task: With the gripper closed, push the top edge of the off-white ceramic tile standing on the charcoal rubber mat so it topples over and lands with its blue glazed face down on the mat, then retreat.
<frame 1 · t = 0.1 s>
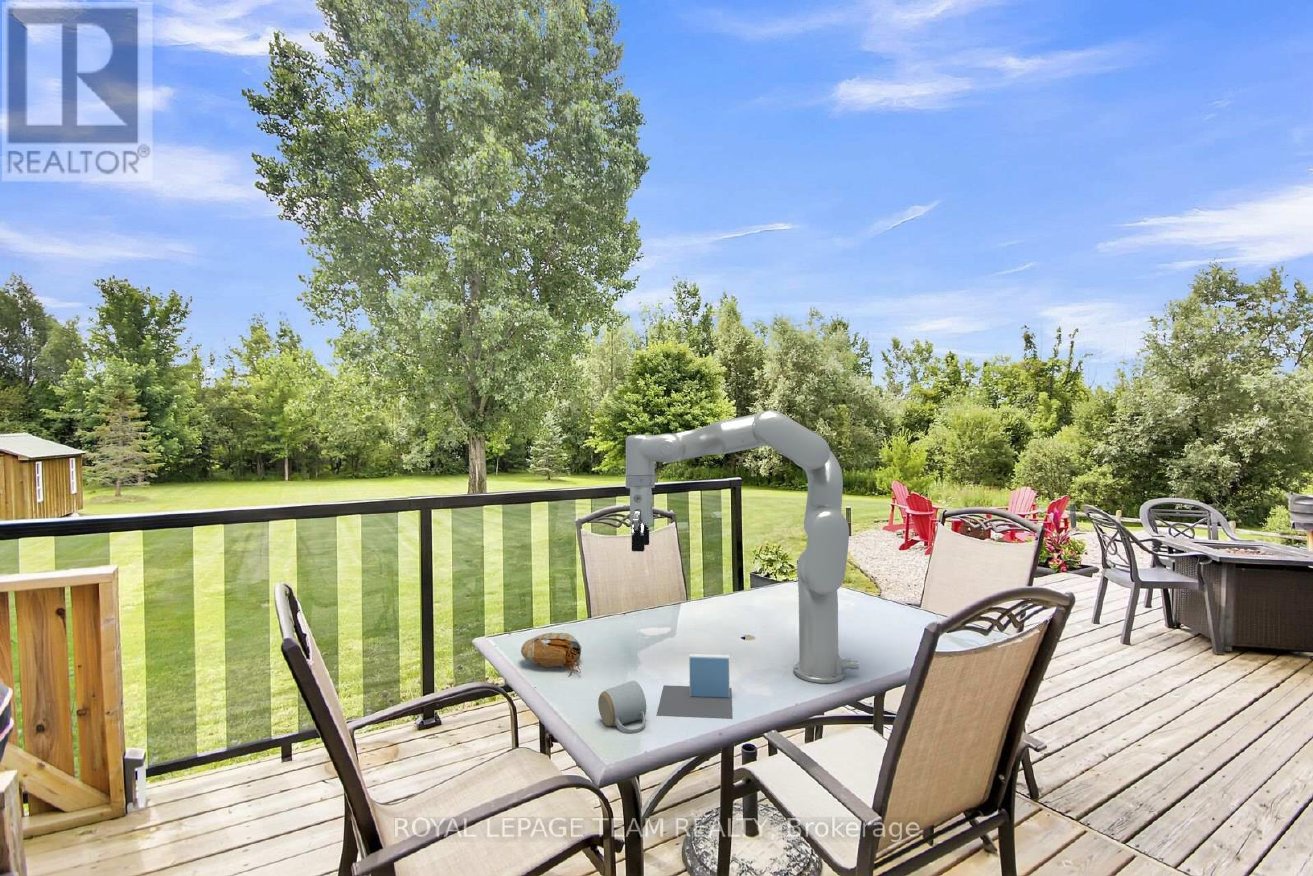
hand: (640, 547, 154), 31 cm above the table, tool pointing down, fingers open, 9 cm apart
ceramic mug: (626, 725, 123), on the table
mat: (695, 703, 132), on the table
tile: (709, 695, 135), point 1 cm above the table, touching mat
nautilus: (556, 668, 155), on the table
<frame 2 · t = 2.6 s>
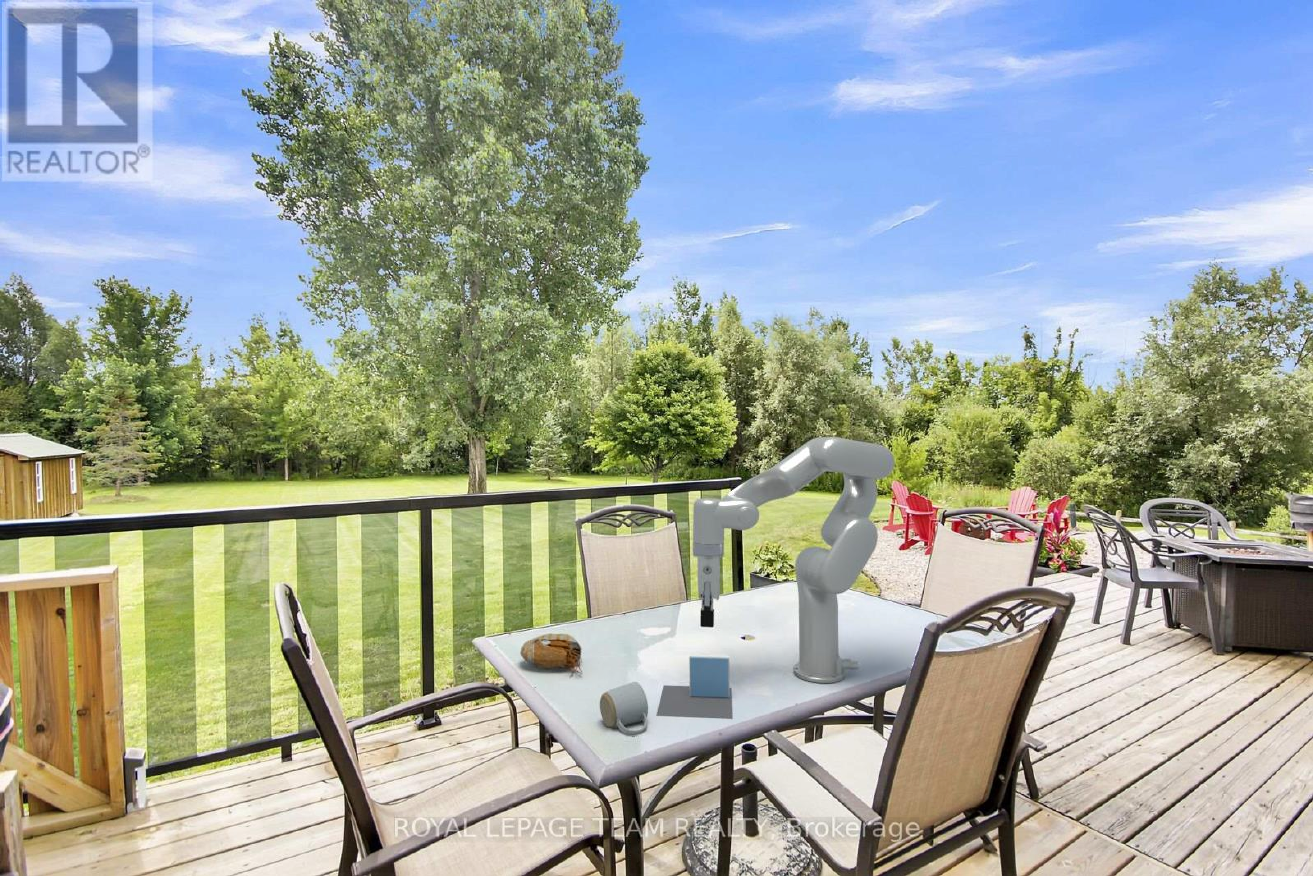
hand: (707, 626, 143), 14 cm above the table, tool pointing down, fingers closed
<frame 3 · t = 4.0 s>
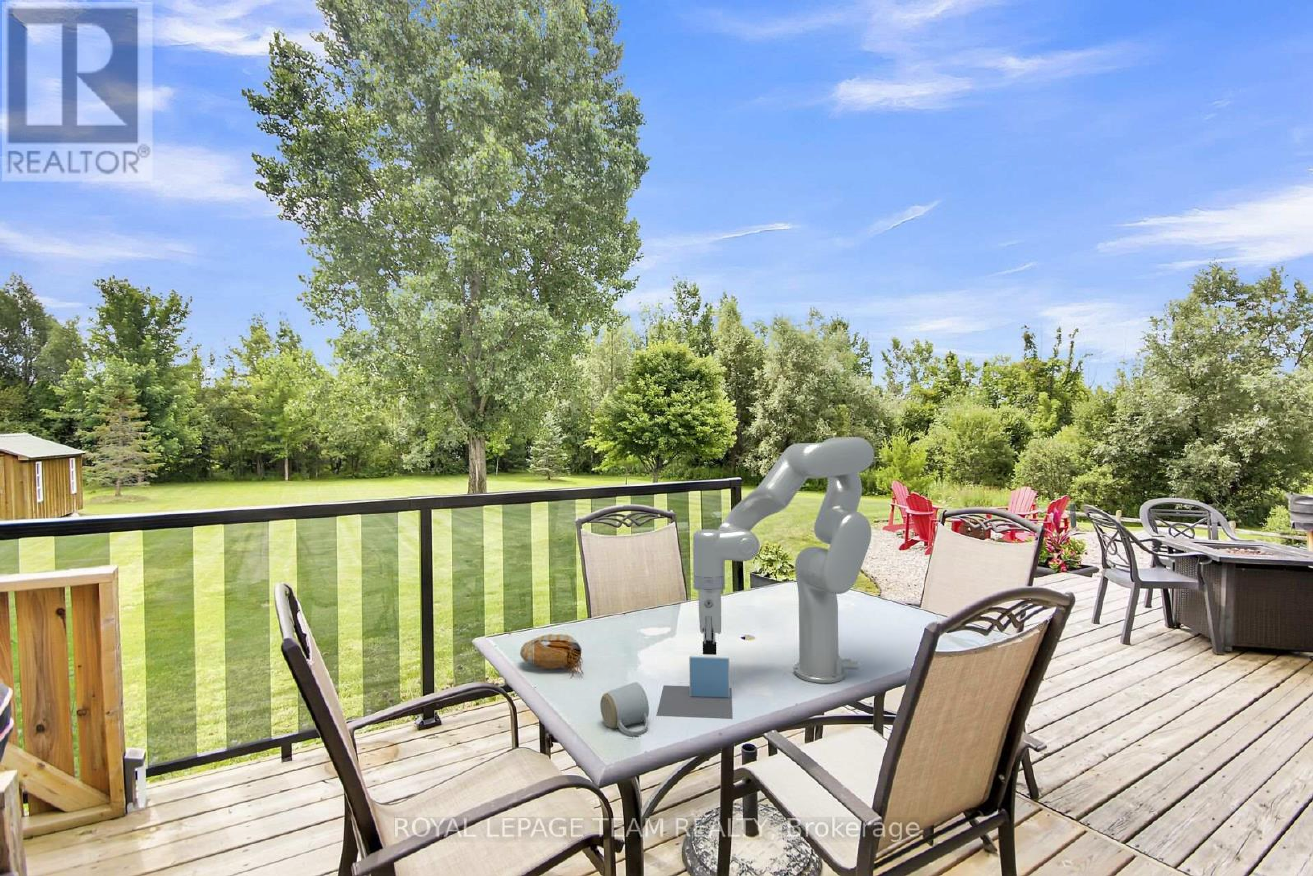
hand: (709, 659, 142), 7 cm above the table, tool pointing down, fingers closed
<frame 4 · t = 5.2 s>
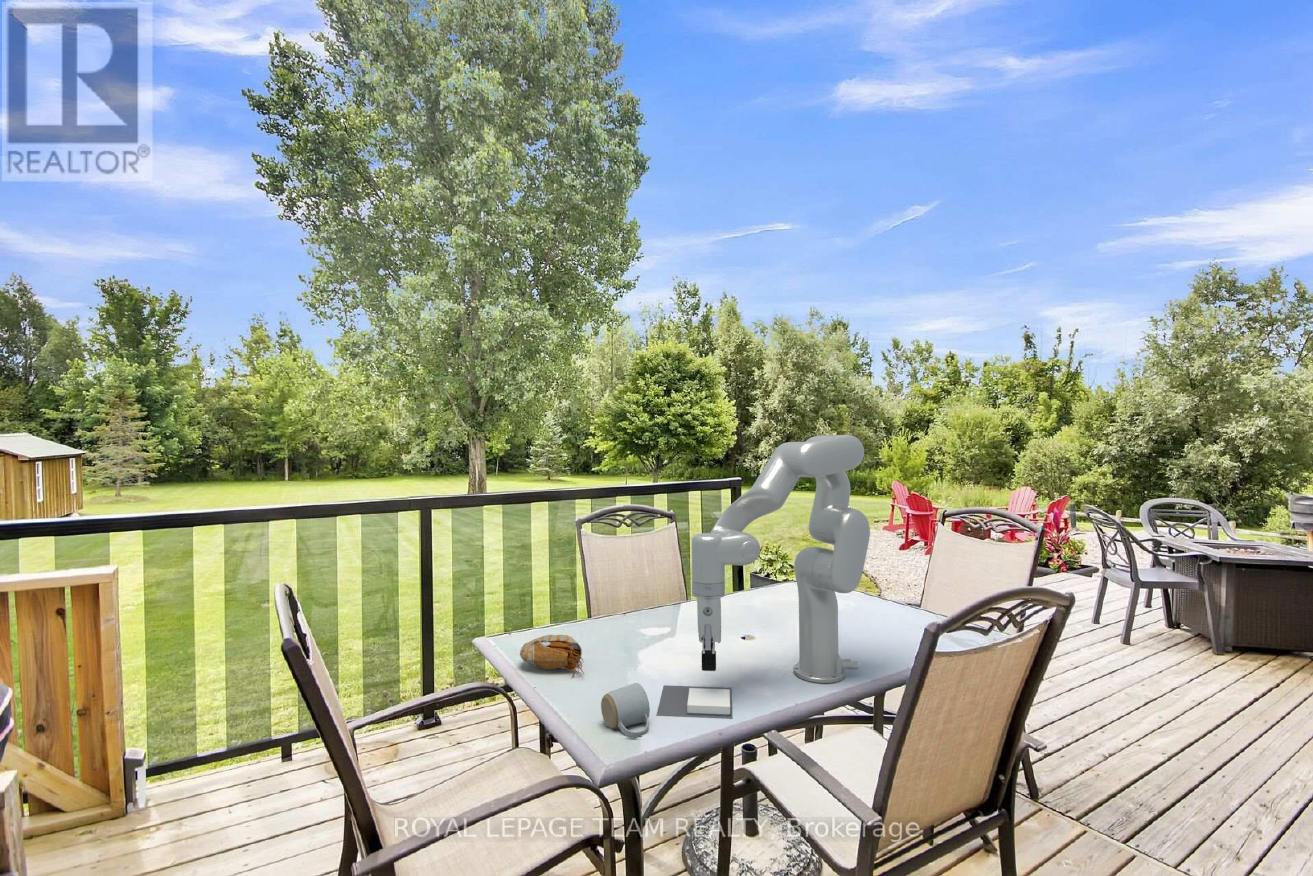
hand: (708, 669, 135), 7 cm above the table, tool pointing down, fingers closed
tile: (709, 693, 134), point 2 cm above the table, tilted 90°, touching mat
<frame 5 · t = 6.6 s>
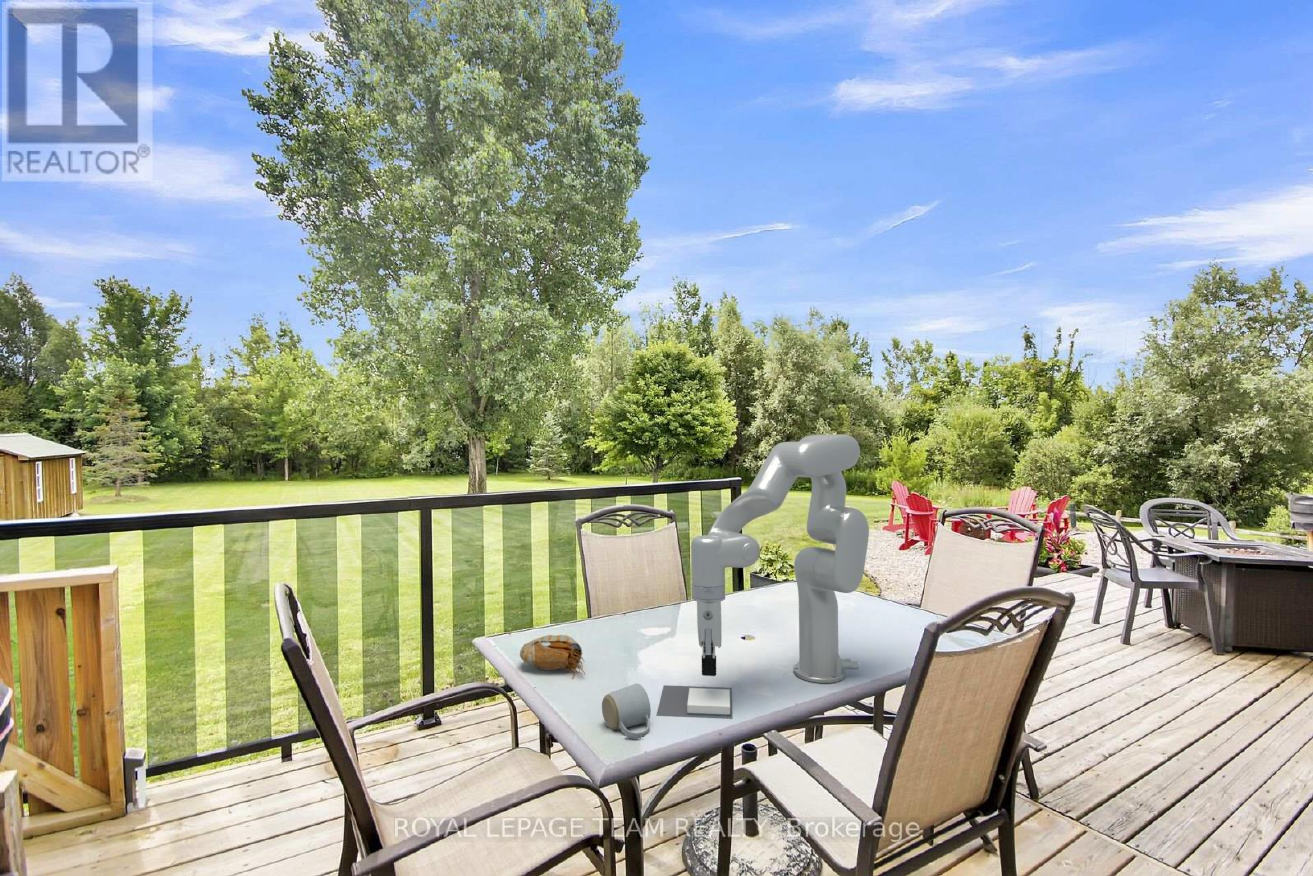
hand: (709, 674, 132), 7 cm above the table, tool pointing down, fingers closed
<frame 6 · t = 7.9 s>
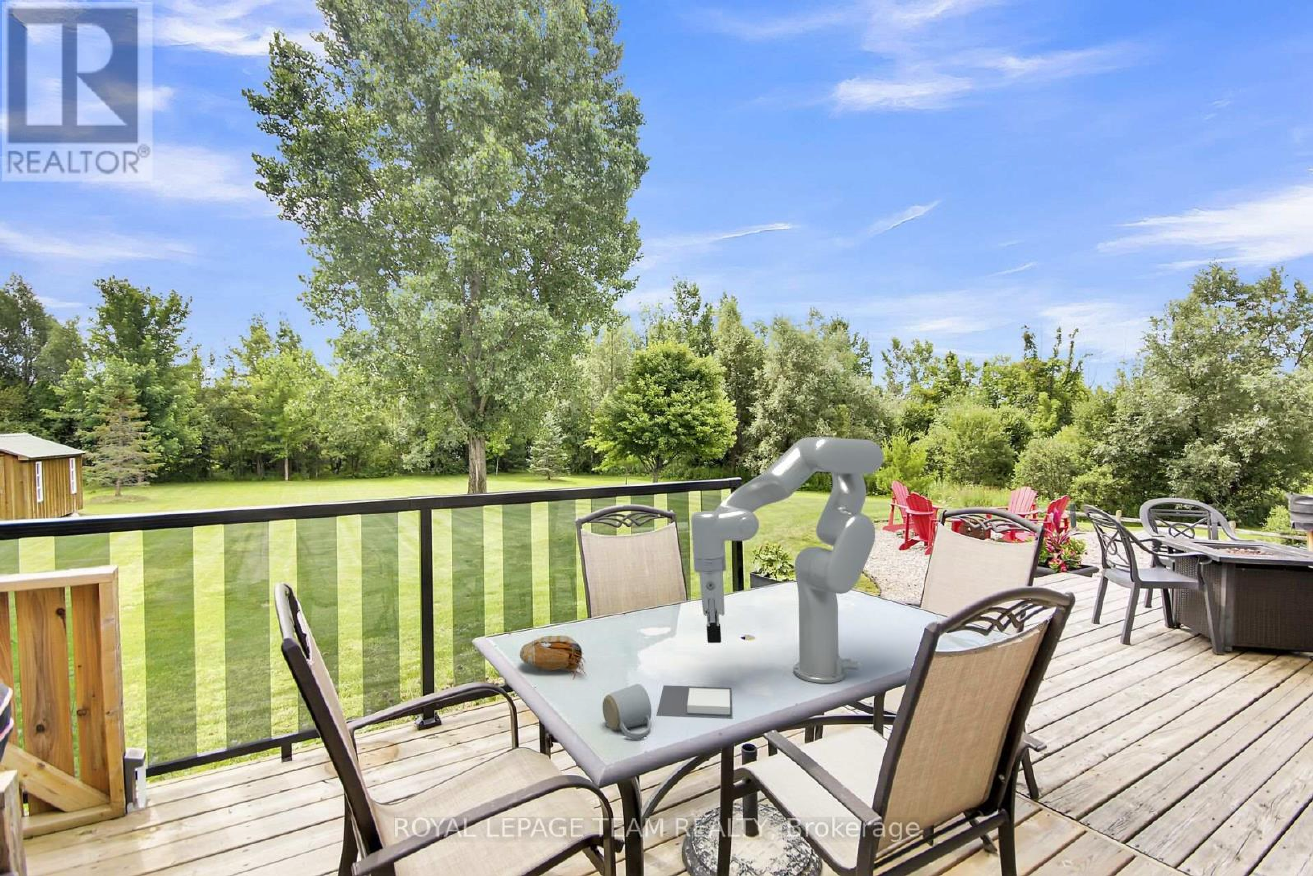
hand: (714, 641, 140), 11 cm above the table, tool pointing down, fingers closed
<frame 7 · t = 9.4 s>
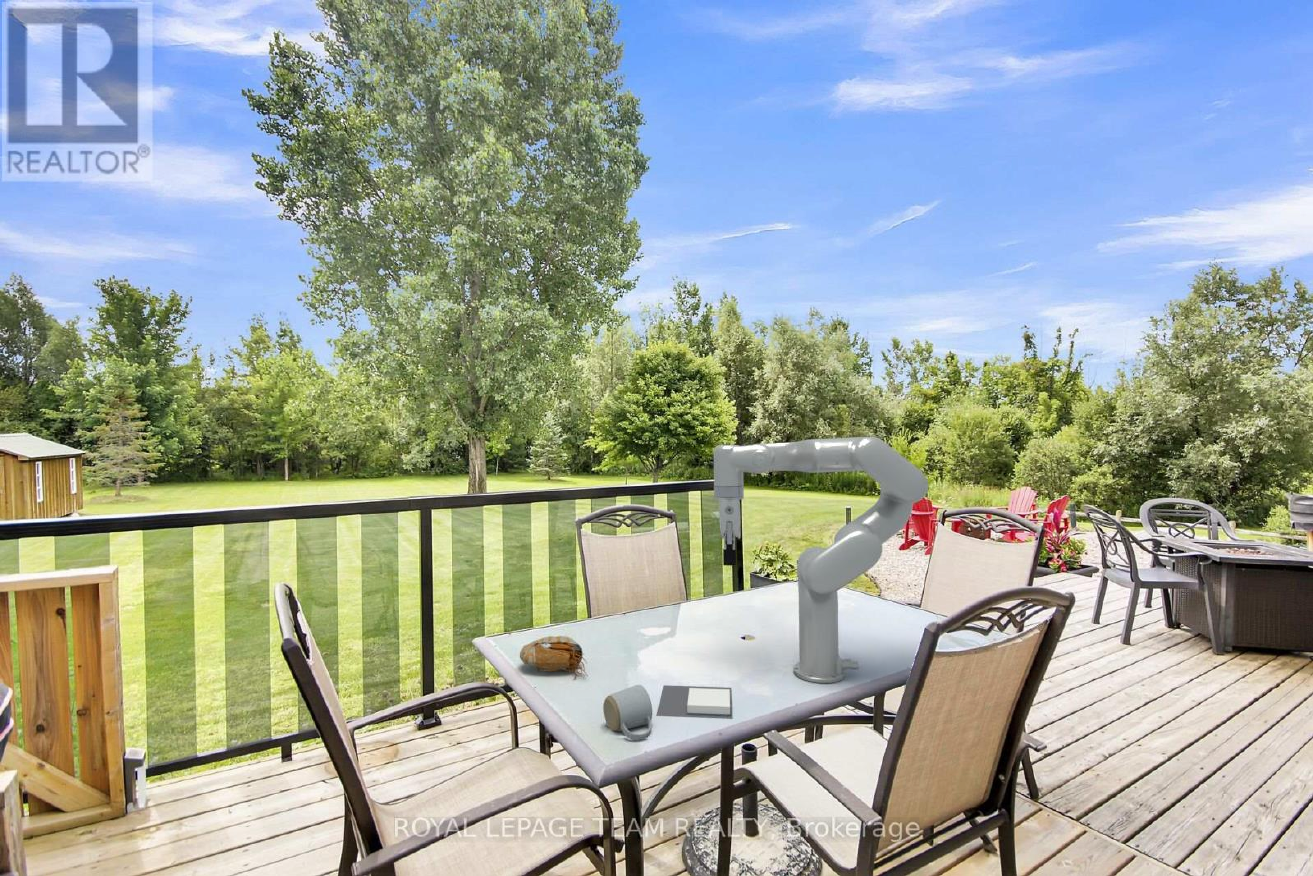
hand: (729, 564, 152), 27 cm above the table, tool pointing down, fingers closed
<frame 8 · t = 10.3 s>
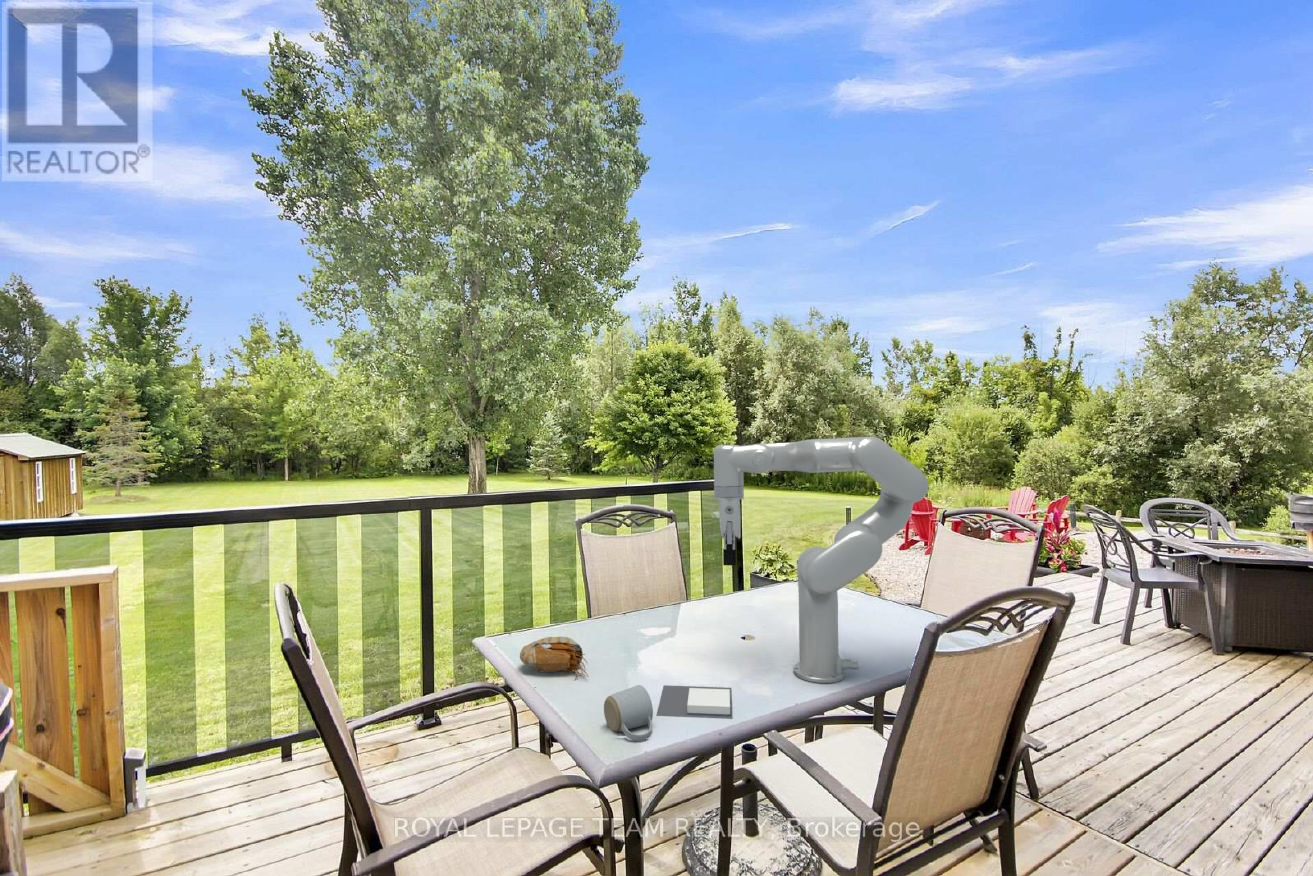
hand: (729, 564, 152), 27 cm above the table, tool pointing down, fingers closed
at the end: tile tilted 90°; tile inside the target area (4.2 cm from its centre), point 1.6 cm above the table; the gripper is holding nothing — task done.
